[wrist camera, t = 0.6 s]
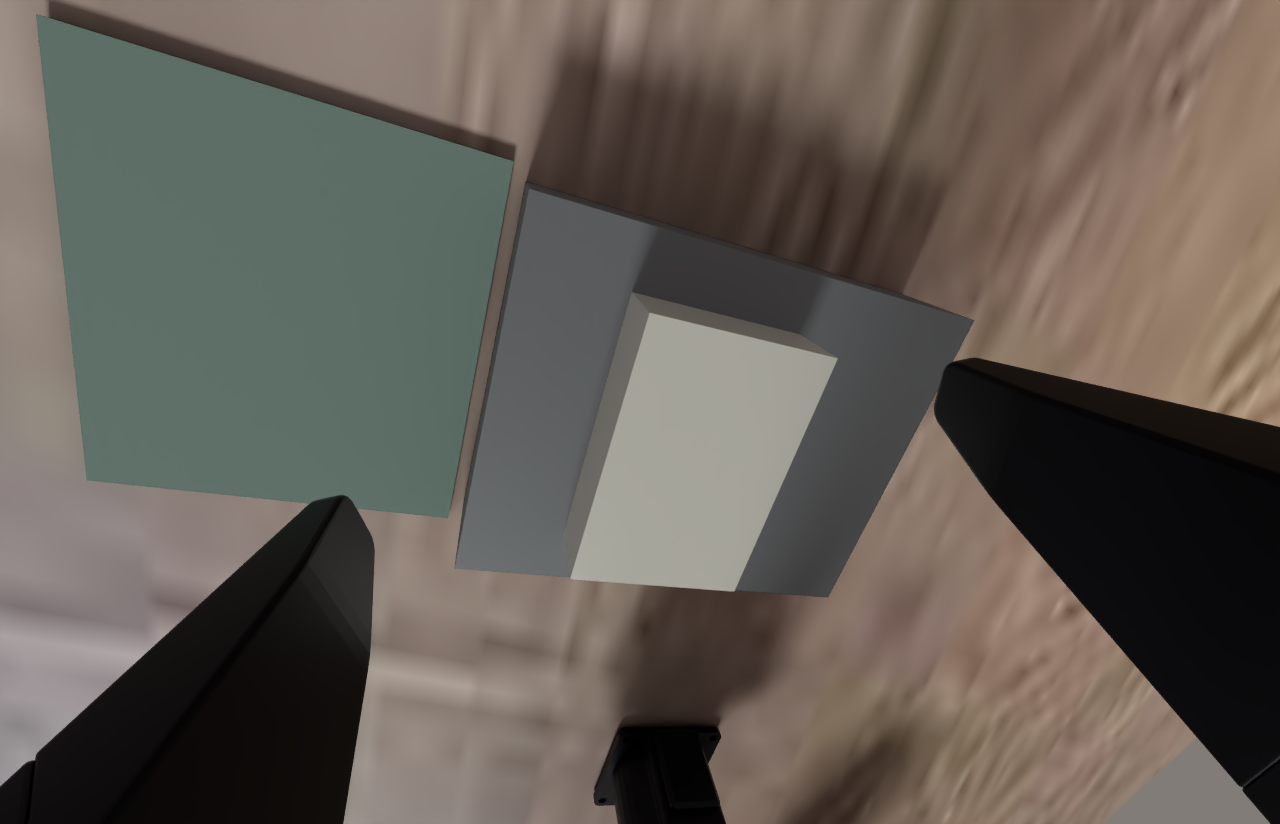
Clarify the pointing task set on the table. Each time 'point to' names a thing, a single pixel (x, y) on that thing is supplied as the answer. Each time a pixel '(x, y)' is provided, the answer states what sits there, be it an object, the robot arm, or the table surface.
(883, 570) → the table surface
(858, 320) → the grey flat box
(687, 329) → the block
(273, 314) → the mat
